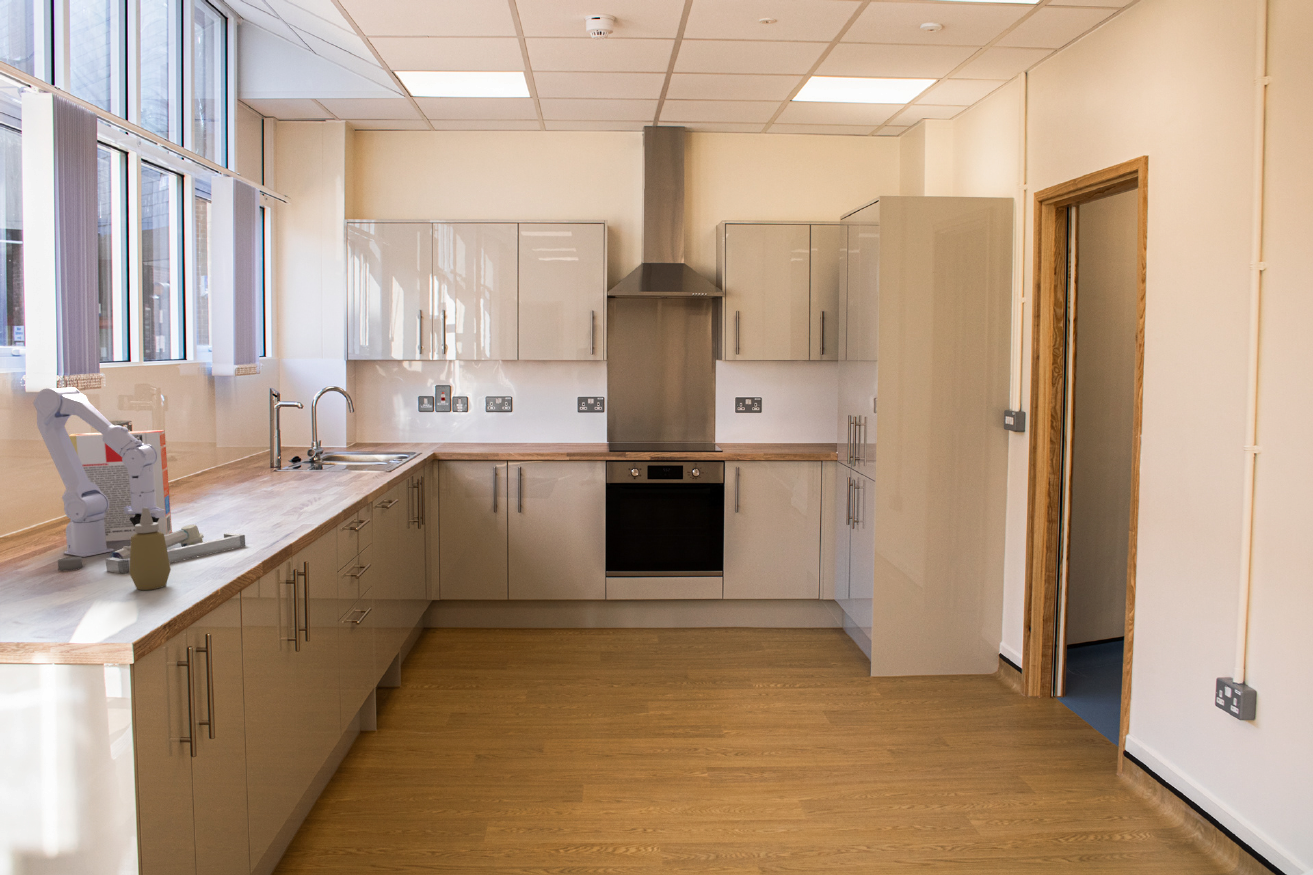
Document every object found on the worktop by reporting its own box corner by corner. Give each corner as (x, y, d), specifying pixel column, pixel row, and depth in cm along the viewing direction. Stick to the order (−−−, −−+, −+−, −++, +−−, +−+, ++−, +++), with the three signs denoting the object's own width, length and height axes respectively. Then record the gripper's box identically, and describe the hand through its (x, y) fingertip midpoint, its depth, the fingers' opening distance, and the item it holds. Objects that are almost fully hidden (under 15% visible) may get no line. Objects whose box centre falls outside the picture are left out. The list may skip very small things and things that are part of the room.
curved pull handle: (106, 570, 218) (105, 558, 217) (229, 543, 246) (229, 532, 246) (122, 573, 214) (121, 561, 214) (245, 545, 243) (244, 534, 243)
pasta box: (171, 531, 265) (164, 430, 262) (167, 536, 257) (159, 432, 254) (82, 538, 257) (73, 433, 254) (74, 543, 250) (65, 436, 247)
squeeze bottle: (128, 593, 196) (121, 512, 195) (133, 585, 204) (127, 506, 202) (170, 589, 200) (164, 509, 198) (173, 580, 207) (167, 503, 205)
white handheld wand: (106, 550, 223) (190, 518, 245) (112, 576, 224) (195, 541, 247) (121, 552, 221) (204, 519, 243) (126, 577, 222) (209, 543, 245)
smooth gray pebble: (54, 570, 220) (53, 560, 220) (75, 565, 224) (75, 555, 224) (65, 572, 217) (64, 562, 217) (87, 567, 222) (86, 557, 221)
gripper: (111, 492, 236) (115, 543, 237) (144, 495, 229) (148, 548, 230) (137, 488, 242) (141, 537, 243) (170, 491, 235) (174, 542, 236)
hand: (146, 542), depth 237 cm, fingers closed
